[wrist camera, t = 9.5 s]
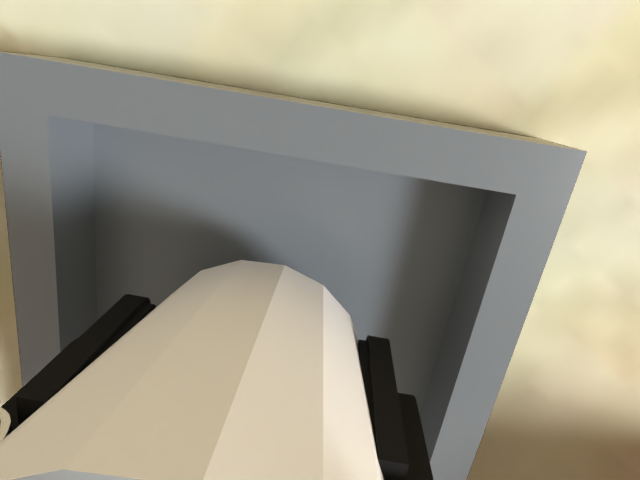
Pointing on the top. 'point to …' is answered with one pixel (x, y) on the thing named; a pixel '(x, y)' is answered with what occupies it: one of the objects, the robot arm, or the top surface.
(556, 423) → the top surface
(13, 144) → the tray
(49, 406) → the shot glass
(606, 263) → the top surface
